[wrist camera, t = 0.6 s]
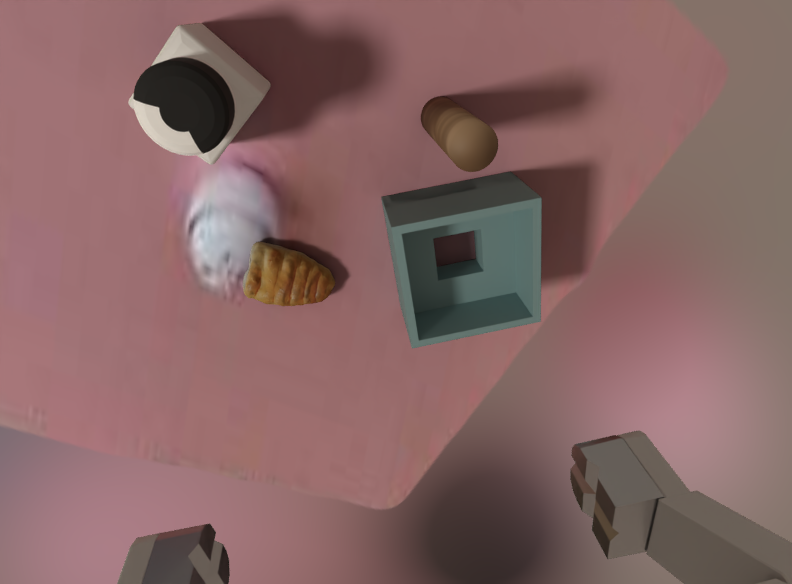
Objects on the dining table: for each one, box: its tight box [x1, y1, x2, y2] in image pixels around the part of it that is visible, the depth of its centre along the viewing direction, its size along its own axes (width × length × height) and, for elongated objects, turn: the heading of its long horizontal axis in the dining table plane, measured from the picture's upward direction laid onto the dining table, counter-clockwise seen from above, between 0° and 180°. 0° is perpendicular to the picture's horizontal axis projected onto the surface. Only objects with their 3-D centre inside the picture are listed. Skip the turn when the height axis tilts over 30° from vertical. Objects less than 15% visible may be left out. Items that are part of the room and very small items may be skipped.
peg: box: [421, 96, 498, 172], centre depth 40 cm, size 4×4×12 cm
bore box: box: [381, 172, 542, 348], centre depth 49 cm, size 14×14×8 cm
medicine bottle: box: [128, 23, 271, 164], centre depth 37 cm, size 7×7×12 cm
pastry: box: [243, 242, 335, 306], centre depth 50 cm, size 9×7×4 cm
